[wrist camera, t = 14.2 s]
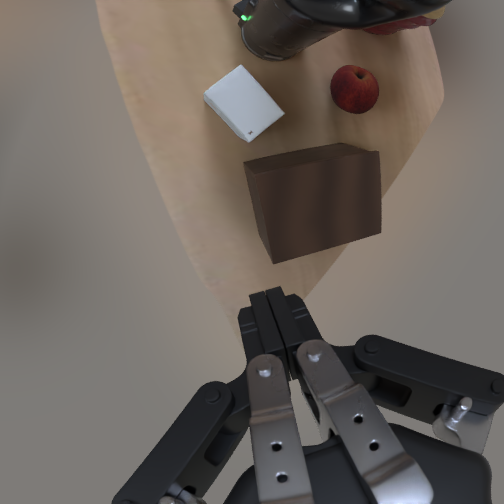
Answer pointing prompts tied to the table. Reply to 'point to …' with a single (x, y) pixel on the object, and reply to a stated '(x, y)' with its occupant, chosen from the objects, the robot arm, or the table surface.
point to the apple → (354, 89)
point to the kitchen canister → (407, 23)
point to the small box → (243, 104)
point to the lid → (320, 204)
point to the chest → (284, 161)
